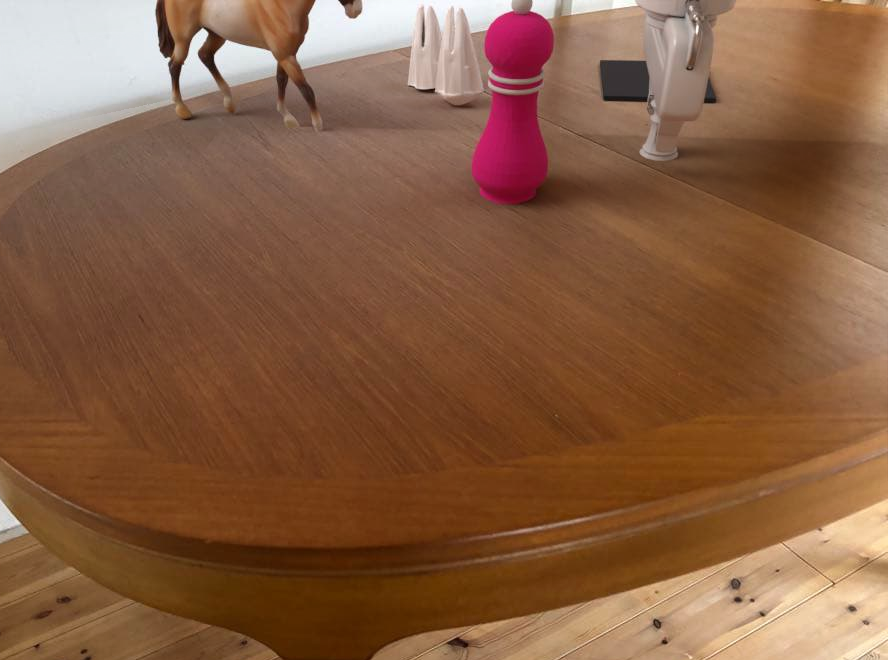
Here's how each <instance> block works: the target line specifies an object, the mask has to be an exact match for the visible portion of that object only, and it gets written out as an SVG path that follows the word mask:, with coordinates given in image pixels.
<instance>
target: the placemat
mask: <svg viewBox="0 0 888 660" xmlns="http://www.w3.org/2000/svg"><path fill="white" fill-rule="evenodd" d="M599 71H600V79H601V81H600V82H601V90H602V99H603V101H608V102H609V101H612V102H613V101H614V102H615V101H616V102H617V101H619V102H647V101H648V95H649V78H650V77H649V73H648V68H647V64H646V60H630V59H629V60H627V59H625V60H623V59H615V60H614V59H611V60H610V59H600V60H599ZM716 102H717V96H716V94H715V91H714V88H713V85H712V83H711V80H710V76H709V77H708V82H707V88H706V93H705V98H704V103H705V104H706V103H708V104H715V103H716ZM704 103H703V104H704Z"/></svg>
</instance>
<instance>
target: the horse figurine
mask: <svg viewBox="0 0 888 660" xmlns="http://www.w3.org/2000/svg"><path fill="white" fill-rule="evenodd" d="M316 1H317V0H156V4H155V9H154V11H155V12H154V15H155V22H156V27H157V39H158V49H159V52H160V53H161V54H162V56H163V58H164V59H168V58H169V60H168V62H167V66H168V73H169V75H170V79H171V80H170V81H171V100H172V101H173V102H174V103H175V105H176V107H175V109H174V110H175V113H176V115H177V116H178V117H179V118H180V119H184V120H187V119H190V118H192V116H193V112H192V111H191V110H190V108H189V107H188V106H187V104H186V103H184V101H183V98H182V92H181V87H180V77H181V73H182V69H183V66H185V61H186V60H187V58H188V56H189V52H190V48H191V43H192V41H193V39H194V37H195V36H196V35H197V34H198V33H199V32H200V31H201V30H202V29H203V30H204V31H206V32H207V36H206V38H205V40H204V42H203V43H202V45H201V47H200V48H199V49H198V50H197V57H198V59H199V60H200V62H201V63H202V64H203V65H204V66H205V68H206V69H207V70H208V71H209V73H210V74H211V76H212V78H213V79H214V81H215V83H216V85H217V87H218V89H219V90H220V92H221V93H222V94H223V95H224V97H223V107H224V109H225V110H226V111H227V112H228V113H230V114H235V112H236V102H235V99H234V96H233V94H232V90H231V86H230V85H229V83H228V82H227V81H226V80H225V79H224V77H223V76H222V74H221V71H219V69H218V67H217V65H216V61H215V55H216V54H217V52H218V51H219V50H220V49H221V48H222V47H223V46H224V45H225V44H226V42H227V41H229V42H231V43H235V44H238V45H242V46H246V47H250V48H251V47H252V48H255V49H256V48H257V49H261V50H265V51H268V52H270V53H271V54H272V56H273V58H274V59H275V61H276V62H277V63H276V73H275V74H276V76H275V78H276V79H275V80H276V84H277V100H276V101H277V102H276V110H277V112H278V113H280V114H281V115H282V117H283V124H284V126H285V127H296V128H297V127H298V128H299V127H301V125H300V123H299V122H298V121H297V119H296V117H294V116H293V115H292V114H291V113H290V111H289V110H288V107H287V104H286V89H287V86H288V82H289V78H290V80H291V81H292V83H293V84H294V85H295V87H296V88H297V90H298V91H299V93H300V95H302V98H303V99H304V101H305V102H306V104H307V106H308V110H309V113H310V118H311V123H312V126H313V128H314V130H315V132H321V131H323V119H322V116H321V115H320V112H319V109H318V107H317V103H316V95H315V91H314V89H313V87H312V86H311V85H310V84H309V83H308V81H307V79H306V77H305V75H304V72H303V69H302V66H301V65H300V63H299V61H298V59H297V54H298V52H299V49H300V48H301V46H302V45H303V43H304V42H305V38H306V35H307V34H308V31H309V29H310V17H309V14H310V13H311V11H312V9H313V7H314V5H315V4H316ZM337 1H338V2H339V3H340V5H341V6H342V7H343V9H344V14H345V16H346V17H348V19H352V20H353V19H357V18H358V17H359V15H361V14H362V13H363V0H337Z"/></svg>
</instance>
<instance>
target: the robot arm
mask: <svg viewBox="0 0 888 660" xmlns="http://www.w3.org/2000/svg"><path fill="white" fill-rule="evenodd" d="M634 1H635V4H636V5H637V6H638V7H639V8H640V9H643V10H644V17H643V29H642V30H643V31H642V33H643V34H642V49H643V54H644V59H645V61H646V64H647V68H648V73H649V77H650V78H649V95H648V101H646V110H647V114H648V115H650V116H652V115H653V114H654V109H653V107H652V105H651V101H653V100H654V99H655V104H656V108H657V112H658V117H659V118H660V121H659V126H658V129H657V130H656V135H655V141H654V144H655V149H656V151H657V152H666V153H670V152H672V151H673V150H674V149H675V145H676V144H677V139H678V136H679V134H680V132H681V129H682V127H683V125H684V123H685V122H696V121H697V120H698V119H699V117H700V115H701V113H702V110H703V107H704V98H705V93H706V88H707V82H708V77H709V78H710V71H711V66H712V60H713V53H714V46H715V45H714V43H715V37H714V36H715V35H714V31H713V28H715V26H716V25H717V22H718V16H720V15H723V14H727V13H728V12H730V11H732V10H733V9H734V7H735V6H736V2H737V0H634Z"/></svg>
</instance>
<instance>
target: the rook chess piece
mask: <svg viewBox="0 0 888 660" xmlns="http://www.w3.org/2000/svg"><path fill="white" fill-rule="evenodd" d="M651 105H652V107H653V109H654V114H653V115H650V121H651V125H650V130H649V132H648V136H647V138H646V141H645V142H644V143H643V144H642V147H641V149H640V150H639V154H640V156H642V157H643V158H644V159H647V160H651V161H656V162H657V161H658V162H666V161H667V162H668V161H671V160H674V159H676V158H677V157H678V156H679V152H678V147H677V146H676V144H675V149H674V150H673V151H672V152H670V153H666V152H657V151H656V149H655V144H654V141H655V135H656V130H657V129H658V126H659V121H660V118H659V117H658V112H657V108H656V104H655V99H654V100H653V101H651Z"/></svg>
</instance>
